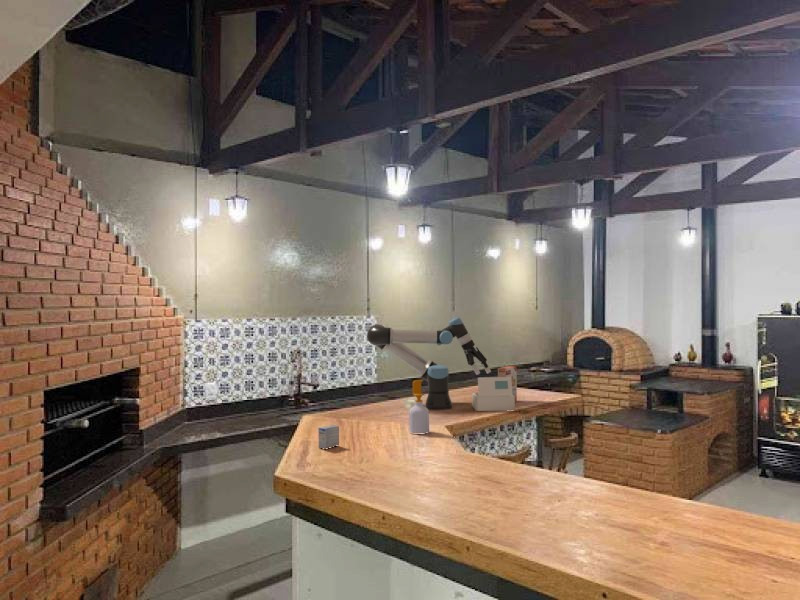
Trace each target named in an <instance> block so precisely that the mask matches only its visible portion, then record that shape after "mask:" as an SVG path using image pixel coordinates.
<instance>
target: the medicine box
mask: <svg viewBox="0 0 800 600" xmlns="http://www.w3.org/2000/svg"><path fill="white" fill-rule="evenodd" d="M317 429H318V449H319V448H324V449H326V448H329V447H333V446H336V445H339V446H340V426H339V425H334V424H329V425H325V426H322V427H319V428H317Z"/></svg>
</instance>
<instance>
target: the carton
mask: <svg viewBox="0 0 800 600" xmlns="http://www.w3.org/2000/svg"><path fill="white" fill-rule="evenodd" d="M471 399H472V401H471V404H472V405H471V406H473V407H472V408H473V409H474V411H475V412H477V411H487V412H508V411H507V410H514V411H516V401H515V396H514V395H505V396H479V391H477V392H476V391H475V392H472V393H471Z"/></svg>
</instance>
